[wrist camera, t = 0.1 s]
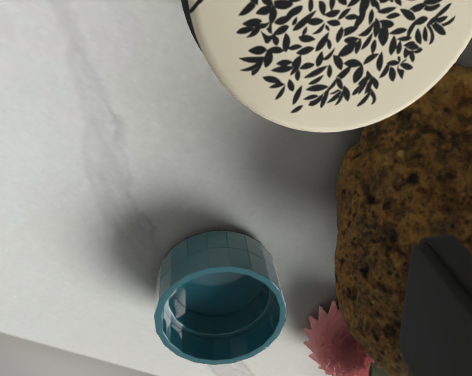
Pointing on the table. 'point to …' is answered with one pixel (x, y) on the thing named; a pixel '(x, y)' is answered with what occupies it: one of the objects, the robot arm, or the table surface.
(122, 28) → the table surface
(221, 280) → the bowl
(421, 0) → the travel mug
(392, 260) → the rock
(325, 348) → the flower
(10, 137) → the table surface
